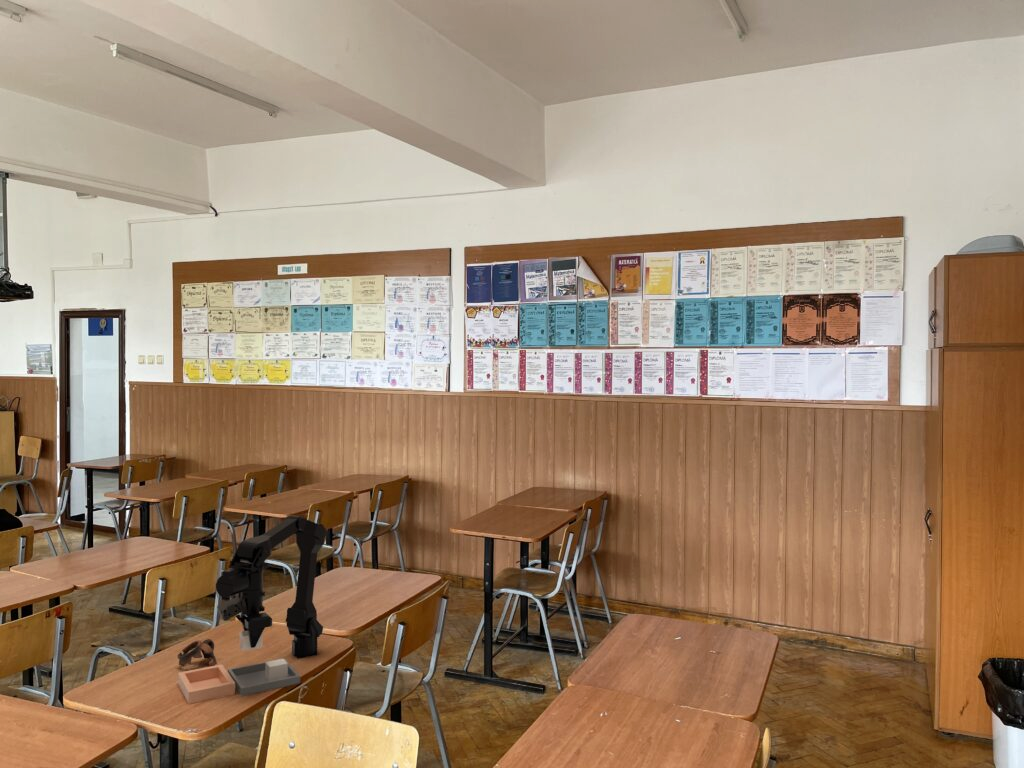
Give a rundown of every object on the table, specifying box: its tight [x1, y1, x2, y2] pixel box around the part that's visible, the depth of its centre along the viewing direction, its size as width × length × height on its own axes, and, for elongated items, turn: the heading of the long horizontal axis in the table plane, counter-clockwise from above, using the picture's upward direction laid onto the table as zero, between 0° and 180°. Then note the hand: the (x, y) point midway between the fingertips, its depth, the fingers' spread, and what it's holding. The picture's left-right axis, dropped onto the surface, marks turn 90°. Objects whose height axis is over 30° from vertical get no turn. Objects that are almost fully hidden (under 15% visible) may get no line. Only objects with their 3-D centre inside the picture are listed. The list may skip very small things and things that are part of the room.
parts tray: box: [227, 657, 301, 697], centre depth 207 cm, size 16×15×3 cm
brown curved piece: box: [177, 638, 218, 667], centre depth 218 cm, size 12×10×8 cm
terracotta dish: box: [177, 664, 236, 705], centre depth 201 cm, size 11×14×4 cm
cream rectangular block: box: [238, 630, 263, 652], centre depth 205 cm, size 5×4×4 cm
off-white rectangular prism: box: [264, 658, 289, 681], centre depth 209 cm, size 5×4×4 cm
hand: (250, 644), depth 205 cm, fingers closed on cream rectangular block, 4 cm apart
